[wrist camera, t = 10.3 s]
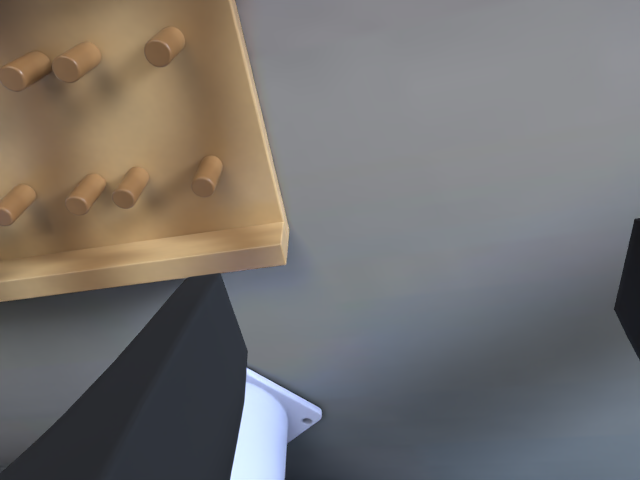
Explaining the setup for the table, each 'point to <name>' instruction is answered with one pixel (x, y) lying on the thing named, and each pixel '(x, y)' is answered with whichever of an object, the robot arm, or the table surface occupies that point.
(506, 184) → the table surface
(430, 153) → the table surface
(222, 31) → the rack
